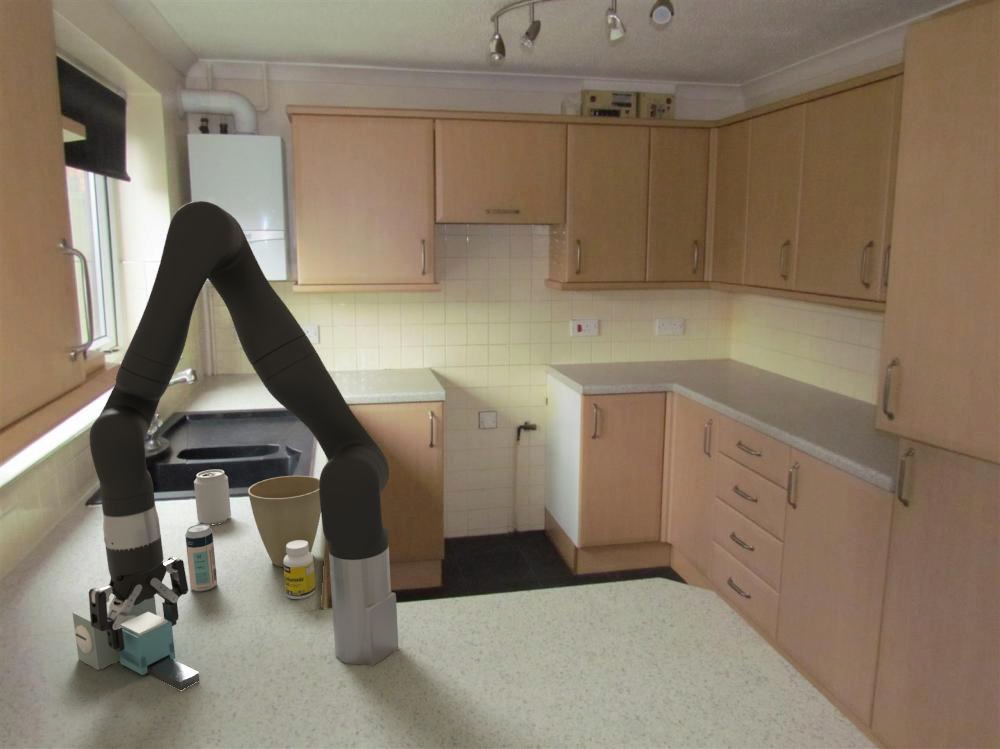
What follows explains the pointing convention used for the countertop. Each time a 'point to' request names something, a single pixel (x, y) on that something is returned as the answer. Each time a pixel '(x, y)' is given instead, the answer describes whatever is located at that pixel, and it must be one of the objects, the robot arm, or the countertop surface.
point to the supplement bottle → (299, 570)
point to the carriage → (146, 641)
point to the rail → (173, 673)
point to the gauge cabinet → (102, 635)
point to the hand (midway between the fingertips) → (145, 636)
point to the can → (212, 497)
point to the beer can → (201, 557)
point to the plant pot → (285, 512)
